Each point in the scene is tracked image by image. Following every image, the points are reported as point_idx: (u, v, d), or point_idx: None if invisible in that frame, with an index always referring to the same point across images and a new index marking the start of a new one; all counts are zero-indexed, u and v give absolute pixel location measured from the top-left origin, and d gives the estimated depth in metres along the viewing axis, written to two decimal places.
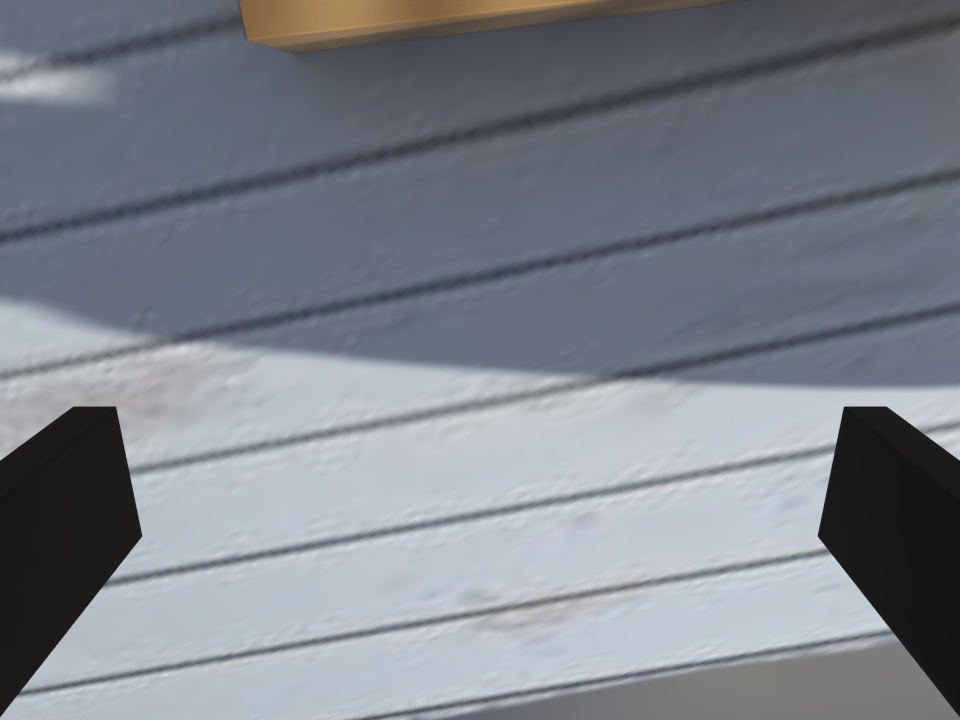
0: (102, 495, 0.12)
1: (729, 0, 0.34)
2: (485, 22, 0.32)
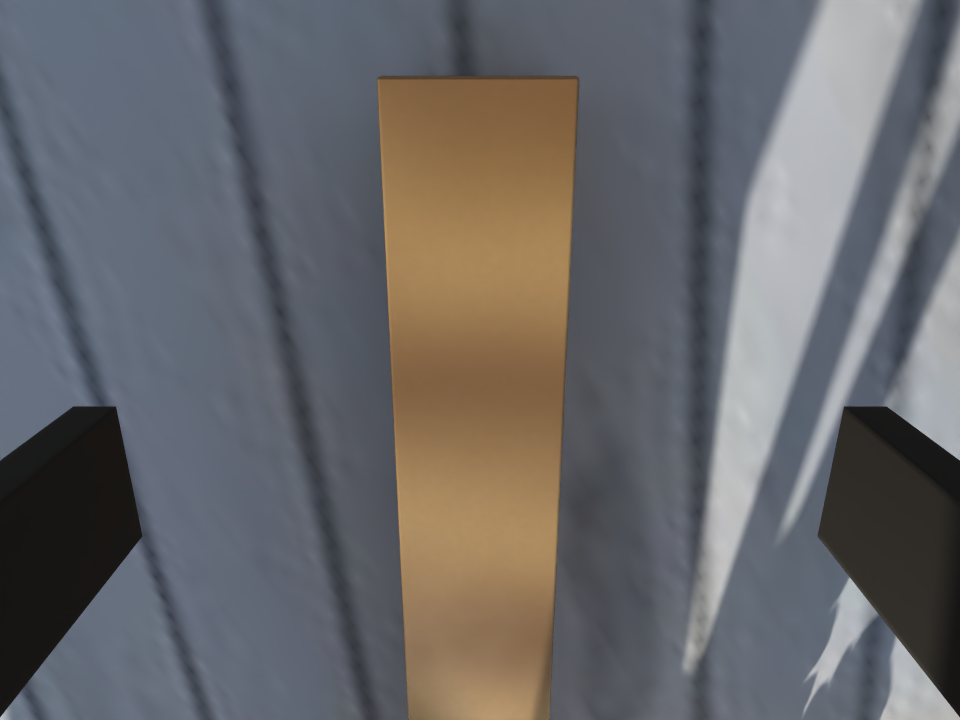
0: (102, 495, 0.12)
1: None
2: None
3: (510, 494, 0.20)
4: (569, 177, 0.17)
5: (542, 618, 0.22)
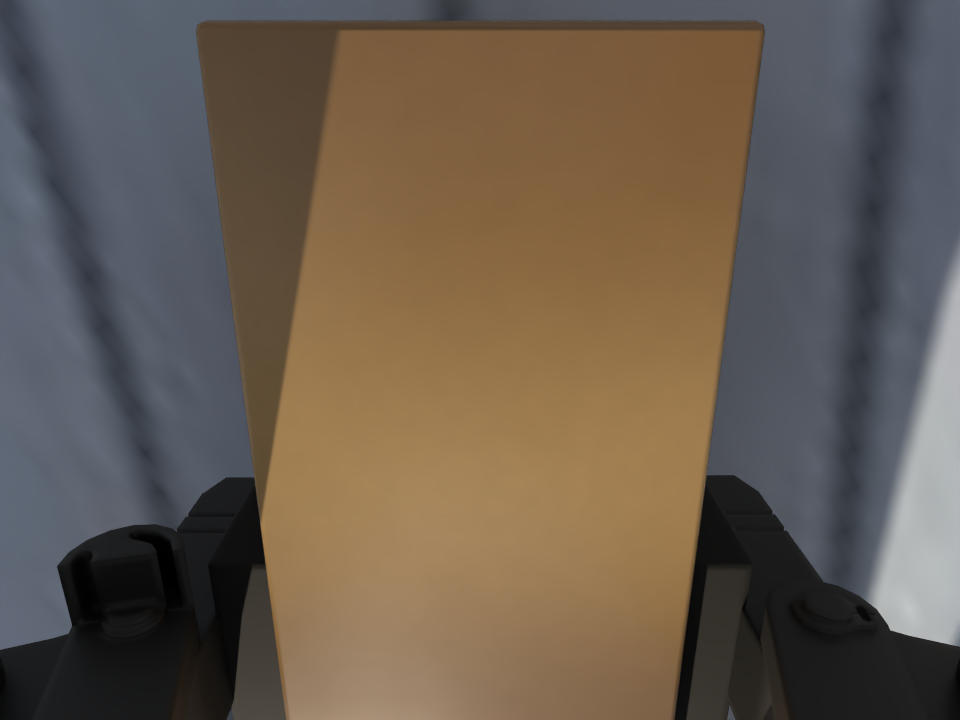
0: None
1: None
2: None
3: None
4: (718, 292, 0.07)
5: None
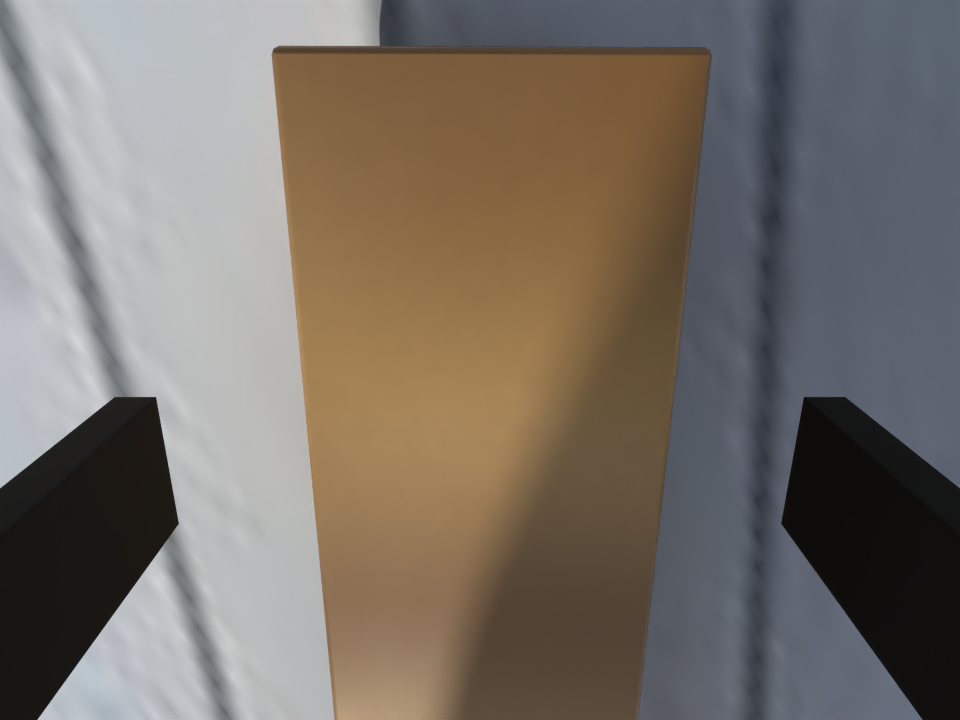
0: (144, 483, 0.12)
1: None
2: None
3: None
4: (678, 260, 0.08)
5: None
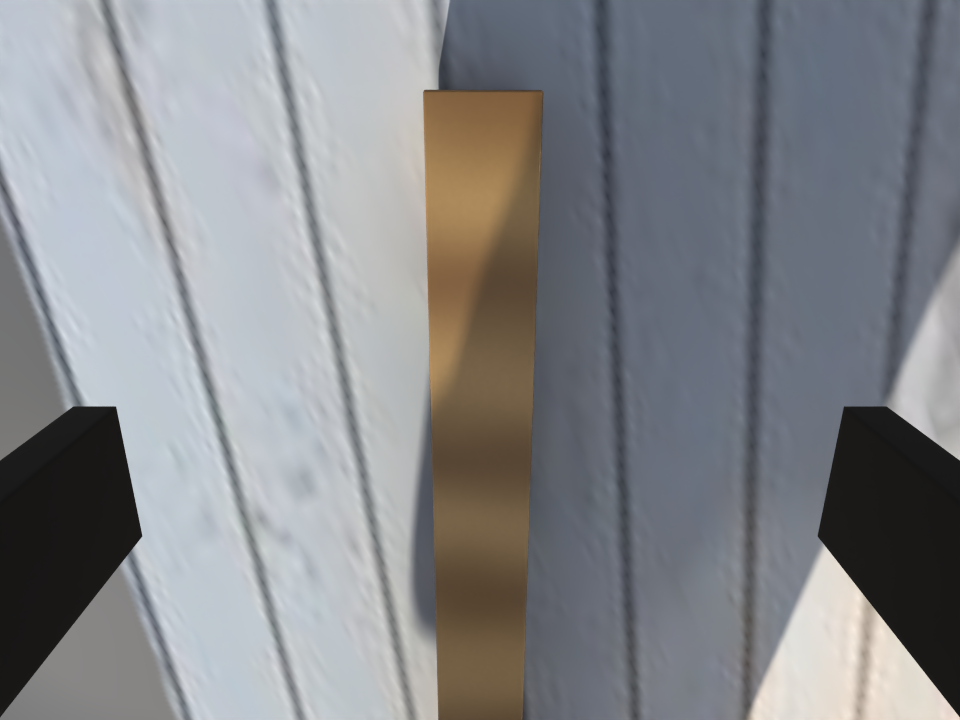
0: (102, 495, 0.12)
1: None
2: None
3: (502, 357, 0.31)
4: (537, 151, 0.28)
5: (523, 445, 0.33)
